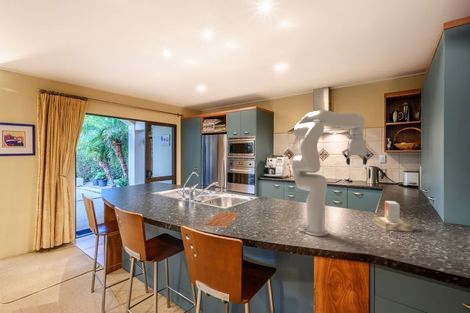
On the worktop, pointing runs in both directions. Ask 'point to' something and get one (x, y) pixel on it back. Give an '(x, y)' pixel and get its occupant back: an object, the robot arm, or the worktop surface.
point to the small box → (392, 211)
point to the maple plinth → (393, 224)
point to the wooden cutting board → (222, 219)
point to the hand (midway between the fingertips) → (356, 164)
